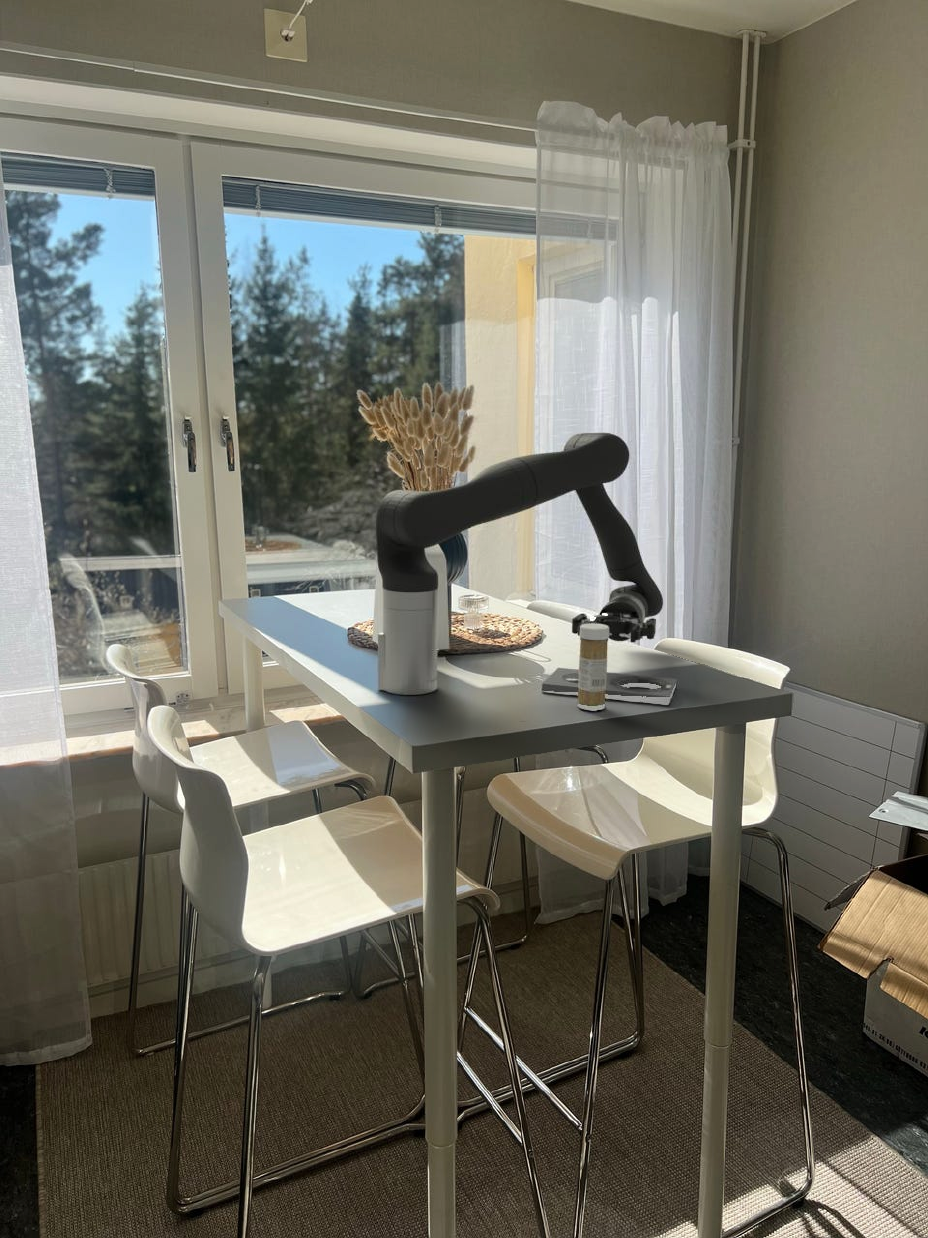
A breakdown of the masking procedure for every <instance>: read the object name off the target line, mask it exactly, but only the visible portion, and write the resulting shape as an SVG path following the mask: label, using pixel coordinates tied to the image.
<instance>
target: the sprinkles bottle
mask: <svg viewBox="0 0 928 1238" xmlns="http://www.w3.org/2000/svg"><path fill="white" fill-rule="evenodd" d="M579 640H580V643H579V644H580V646H579V661H578V663H579V664H578V670H579V681H578V687H579V690H578V697H577V698H578V699H577V704H578V703H579V704H581V705H587V706H598V705H603V704H605V705H606V700H605V692H606V691H605V690H606V675H607V672H608V670H607V669H608V642H609V627H608V626H607V625H604V624H595V623H589V624H583V625H581V626H580V636H579Z"/></svg>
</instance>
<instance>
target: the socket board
mask: <svg viewBox="0 0 928 1238" xmlns="http://www.w3.org/2000/svg"><path fill="white" fill-rule="evenodd" d="M578 681H579V669H576V668H565V667H557V668H556V669H555V670H554V671H553V672H552V673H551V674H550V675H549V676H548V677H547V678H546V679H545V680H544V681H543V682H542V684H541V692H542V691H554V692H578V690H579V687H578ZM676 682H677V683H678V679H677V678H671V677H659V676H649V675H641V674H640V675H639V674H630V673H629V674H627V673H618V672H617V673H616V672H608V671H607V675H606V690H605V691H606V692H605V694H608V695H621V696H642V697H643V696H646V697H670V695H671V693H672V690H673V688H674V686H675V684H676ZM628 683H650V684H656V685H659V686H661V688H657V689H652V690H650V689H640V688H627V687H623V686H621V685H624V684H628Z"/></svg>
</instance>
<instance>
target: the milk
mask: <svg viewBox="0 0 928 1238" xmlns="http://www.w3.org/2000/svg"><path fill="white" fill-rule="evenodd" d="M425 555H426V558H427V560H428V562H429V564H430V565H431V566H432V567H433V568H434V569H435V570H436V572H437V574H438V638H437V649H449V650H450V631H449V629H450V628H449V625H450V624H449V600H448V599H449V598H448V597H449V595H448V569H447V567H448V565H447V558H446V555H445V553H444V551H443V550H442V548H441V546H440V544H437V545H434V546H432V547H428V548H425ZM375 572H376V574H375V585H374V586H375V587H374V589H375V590H374V608H373V622H372V638H371V639H372V641H374V642H376V643H377V644H378V634H379V633H381V632H383V587H382V576H381V574H380V571H379V568H378V562H377V561H376V571H375ZM372 641H371V642H372Z"/></svg>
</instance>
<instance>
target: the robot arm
mask: <svg viewBox="0 0 928 1238" xmlns="http://www.w3.org/2000/svg"><path fill="white" fill-rule="evenodd" d="M629 462H630V451H629V447H628V444H627V443H626V441H624V440H623V438H621V437H620V436H618V435H617V434H613V433H610V432H583V433H577V434H573V435H572V436H571V437H570V438H568V440H567V441H566V442H565V445H564V447H563V450H562V451H553V452H542V453H535V454H528V455H523V456H518V457H514V458H510V459H506V460H504V461H501V462H497V463H495V464H492V465H490V466H488V467H486V468H484V469H483V470H481V471H480V472H479V473H477V474H476V475H475V476H474V477H473V478H472V479H470V480H469V481H468V482H464V483H463V484H460V485H457V486H452V487H449V488H444V489H438V490H433V491H432V490H431V491H424V490H423V491H420V490H412V489H411V490H410V489H396V490H393V491H391V492H389V493H387V494H386V495H385V496H384V497H383V498H382V499H381V501H380V503H379V505H378V508H377V512H376V520H375V535H376V537H375V539H376V542H375V543H376V557H377V558H376V563H377V562H378V568H379V571H380V574H381V576H382V587H383V632H381V633H379V634H378V647H377V690H380V691H385V692H387V693H389V694H394V695H403V696H411V695H412V696H414V695H425V694H429V693H432V692H435V691H436V690H437V688H438V651H437V638H438V574H437V572H436V570H435V569H434V568H433V567H432V566H431V565H430V564H429V562H428V560H427V558H426V555H425V548H428V547H432V546H434V545H437V544H438V545H440V544H441V543H443V542H445V541H447V540H448V539H450V538H452V537H454V536H456V535H458V534H460V533H463V532H464V531H467V530H469V529H471V528H473V527H477V526H479V525H481V524H487V523H490V522H494V521H497V520H499V519H502V518H506V517H509V516H512V515H515V514H518V513H521V512H523V511H528V510H529V509H532V508H534V507H536V506H538V505H541V504H544V503H547V502H549V501H551V500H555V499H556V498H557V499H558V498H559V497H562V496H564V495H566V494H568V493H570V492H574V491H575V493H576V495H577V497H578V499H579V501H580V503H581V505H582V507H583V509H584V511H585V513H586V515H587V517H588V519H589V522H590V523H591V524H590V525H592V528H593V530H594V533H595V535H596V538H597V540H598V544H599V547H600V550H601V552H602V556H603V560H604V563H605V566H606V569H607V572H608V575H609V577H610V578H611V579H612V580H614V581H616V582H626V583H633V584H631V585H627V586H626V585H625V586H620V587H617V588H615V589H612V591H610V594H609V598H608V599H609V601H608V602H607V603H606V604H605V605H604V606H603V607H602V609H601V610H600V612H599V614H598V615H597V614H596V615H591V616H590V618H588V616H587V614H586V613H579V614H577V615H576V616H575V617H573V618H572V619H571V633H572V634H577V636H579V637H580V626H581V625H583V624H589V623H595V624H604V625H607V626H608V627H609V638H608V640H609V639H610V640H612V641H613V642H614V641H615V642H625V641H628V640H630V643H636V642H637V641H640V640H641V639H643V638H644V637H646V639H647V640H653V639H655V636H656V632H657V630H656V627H657V619H656V618H654V617H655V616H657V615H659V614H660V613H661V611H662V610H663V606H664V599H663V595H662V592H661V591H660V589H659V586H658V585H657V584H656V582H655V581H654V579H653V578H652V577H651V574H650V573H649V571H648V570H647V568H646V566H645V564H644V561H643V558H642V555H641V552H640V547H639V544H638V542H637V538H636V535H635V533H634V532H633V529H632V527H631V525H630V524H629V523H628V521H627V520H626V519H625V517H624V516H623V515H622V514H621V512H620V510H619V509H618V508H617V507H616V506H615V504H614V503H613V501H612V500H611V498H610V497H609V495H608V492H607V490H606V488H605V484H608V483H612V482H614V481H616V480H617V479H619V478H620V476H622V475H623V474H624V473H625V471H626V469H627V467H628V465H629ZM650 617H651V618H650ZM646 618H649V619H646ZM645 619H646V620H645Z"/></svg>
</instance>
